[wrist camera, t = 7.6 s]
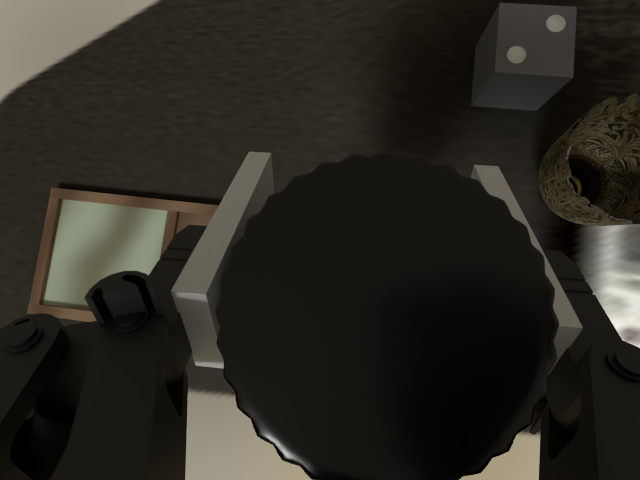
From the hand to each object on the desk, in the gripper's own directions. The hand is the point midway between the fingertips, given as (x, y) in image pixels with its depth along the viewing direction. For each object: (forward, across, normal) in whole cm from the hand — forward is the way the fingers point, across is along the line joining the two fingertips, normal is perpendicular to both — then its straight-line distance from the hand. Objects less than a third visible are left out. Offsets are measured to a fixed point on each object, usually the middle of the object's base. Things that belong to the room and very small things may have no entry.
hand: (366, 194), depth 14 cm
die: (+22, +11, -2) cm, 24 cm away
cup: (+15, +15, -8) cm, 23 cm away
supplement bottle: (+1, 0, -6) cm, 6 cm away
